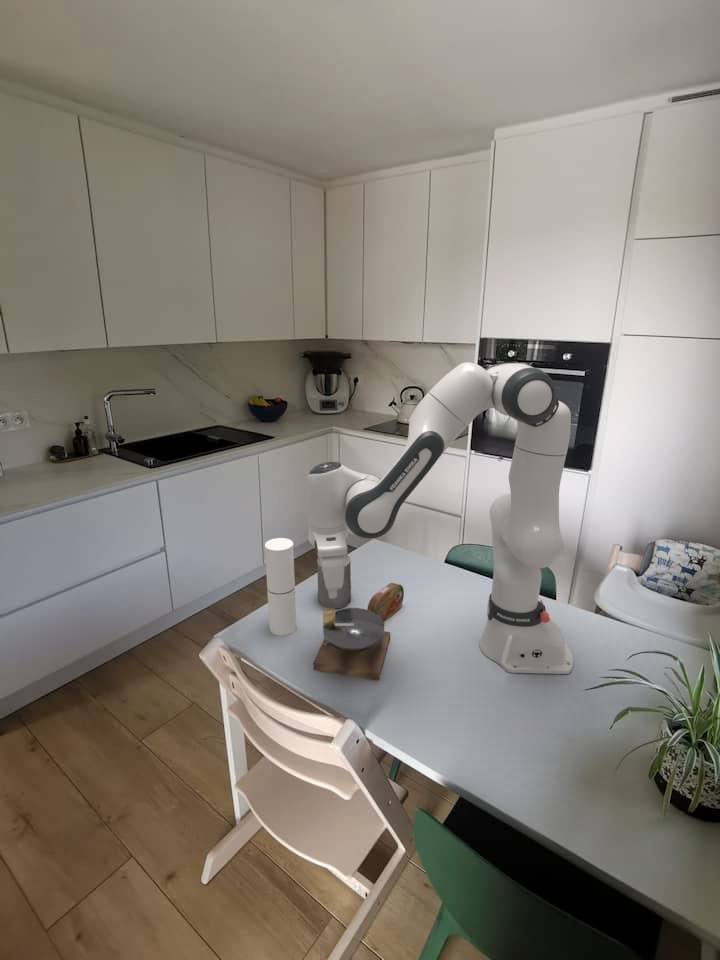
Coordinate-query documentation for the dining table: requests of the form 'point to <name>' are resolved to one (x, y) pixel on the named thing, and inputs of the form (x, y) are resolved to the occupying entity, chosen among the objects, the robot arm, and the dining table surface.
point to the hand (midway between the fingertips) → (330, 586)
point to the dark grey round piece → (352, 629)
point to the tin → (387, 601)
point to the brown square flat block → (353, 660)
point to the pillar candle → (342, 594)
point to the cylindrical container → (280, 586)
